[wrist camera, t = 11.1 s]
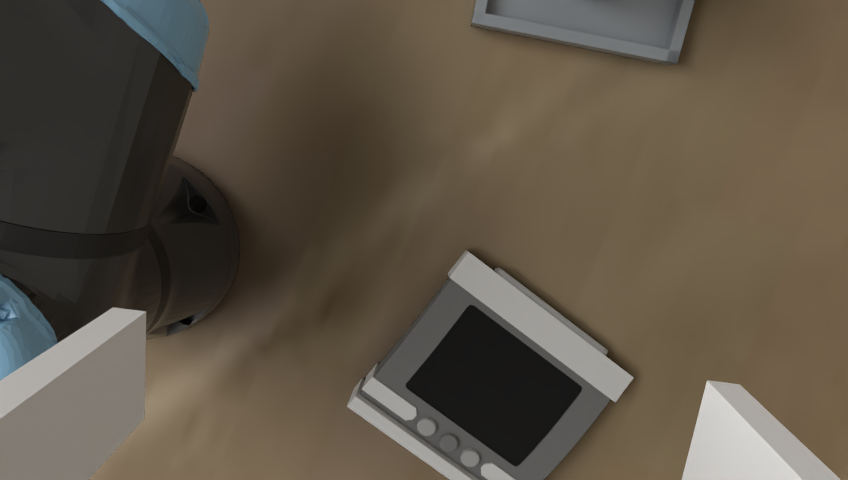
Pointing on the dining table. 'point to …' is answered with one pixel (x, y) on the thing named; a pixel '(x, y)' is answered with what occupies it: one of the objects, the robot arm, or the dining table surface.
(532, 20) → the rest tray
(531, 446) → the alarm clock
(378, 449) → the dining table surface
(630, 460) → the dining table surface
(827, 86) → the dining table surface
